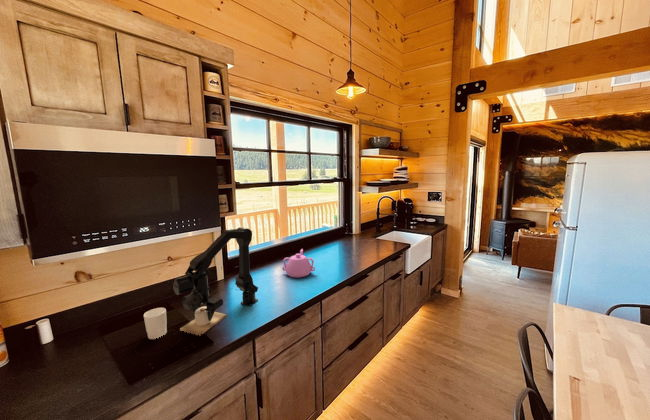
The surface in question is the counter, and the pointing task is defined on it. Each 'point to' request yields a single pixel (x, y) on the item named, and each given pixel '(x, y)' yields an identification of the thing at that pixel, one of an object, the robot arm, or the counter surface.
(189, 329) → the stud block
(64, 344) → the counter surface
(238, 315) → the counter surface
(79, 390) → the counter surface
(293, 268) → the teapot
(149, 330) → the white cup
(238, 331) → the counter surface
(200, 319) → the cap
